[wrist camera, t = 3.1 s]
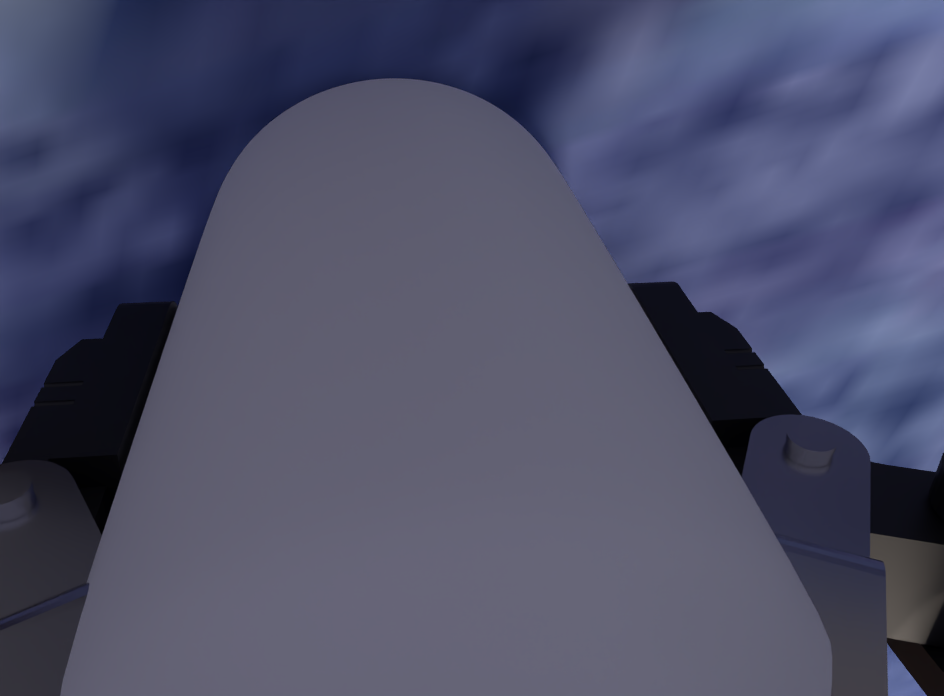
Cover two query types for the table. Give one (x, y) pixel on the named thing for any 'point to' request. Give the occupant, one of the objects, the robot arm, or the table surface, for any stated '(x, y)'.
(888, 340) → the table surface
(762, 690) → the can
